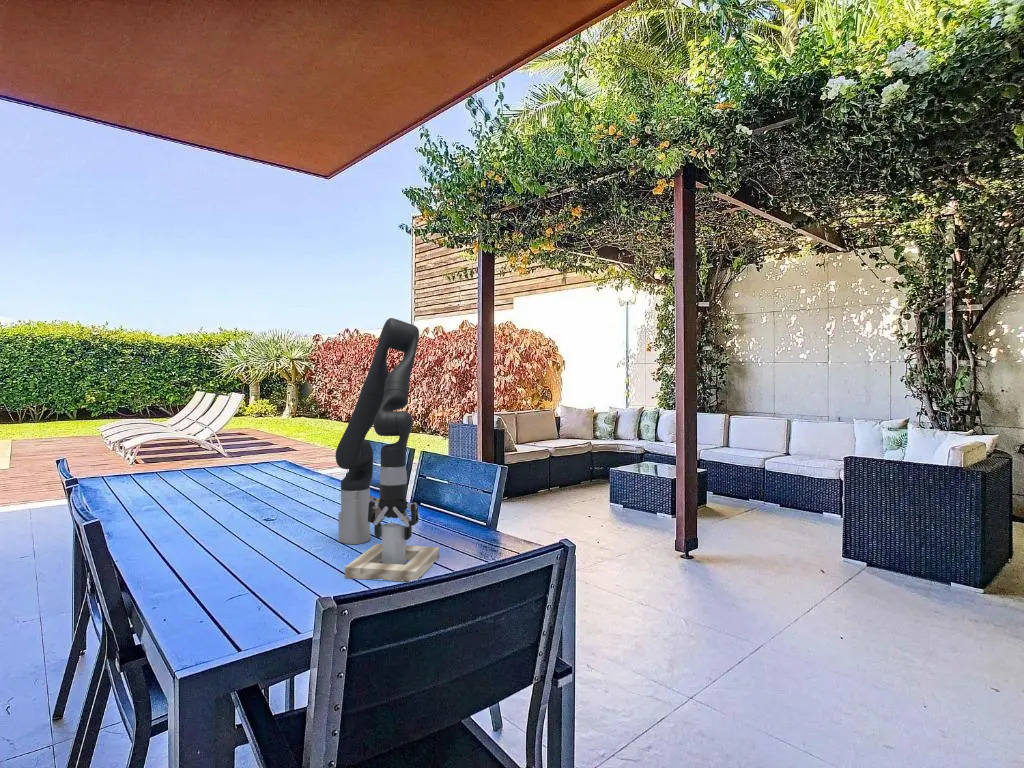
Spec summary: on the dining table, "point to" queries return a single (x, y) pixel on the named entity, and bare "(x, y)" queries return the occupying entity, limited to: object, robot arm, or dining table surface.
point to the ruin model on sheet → (377, 507)
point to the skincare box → (393, 544)
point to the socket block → (373, 569)
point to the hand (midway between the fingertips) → (393, 538)
